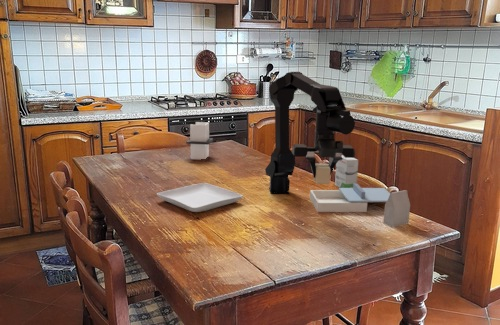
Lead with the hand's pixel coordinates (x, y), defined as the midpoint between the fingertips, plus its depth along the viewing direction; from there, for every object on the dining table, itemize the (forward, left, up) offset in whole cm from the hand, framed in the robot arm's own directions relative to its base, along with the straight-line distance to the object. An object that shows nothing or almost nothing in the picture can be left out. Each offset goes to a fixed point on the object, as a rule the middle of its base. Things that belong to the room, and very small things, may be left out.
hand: (321, 177), depth 150 cm
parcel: (0, 0, -1) cm, 1 cm away
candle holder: (-41, +76, -12) cm, 87 cm away
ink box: (+15, +27, -12) cm, 34 cm away
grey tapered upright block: (+21, -10, -12) cm, 26 cm away
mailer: (+7, +7, -12) cm, 16 cm away
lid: (+18, +7, -8) cm, 21 cm away
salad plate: (-39, +10, -12) cm, 42 cm away
